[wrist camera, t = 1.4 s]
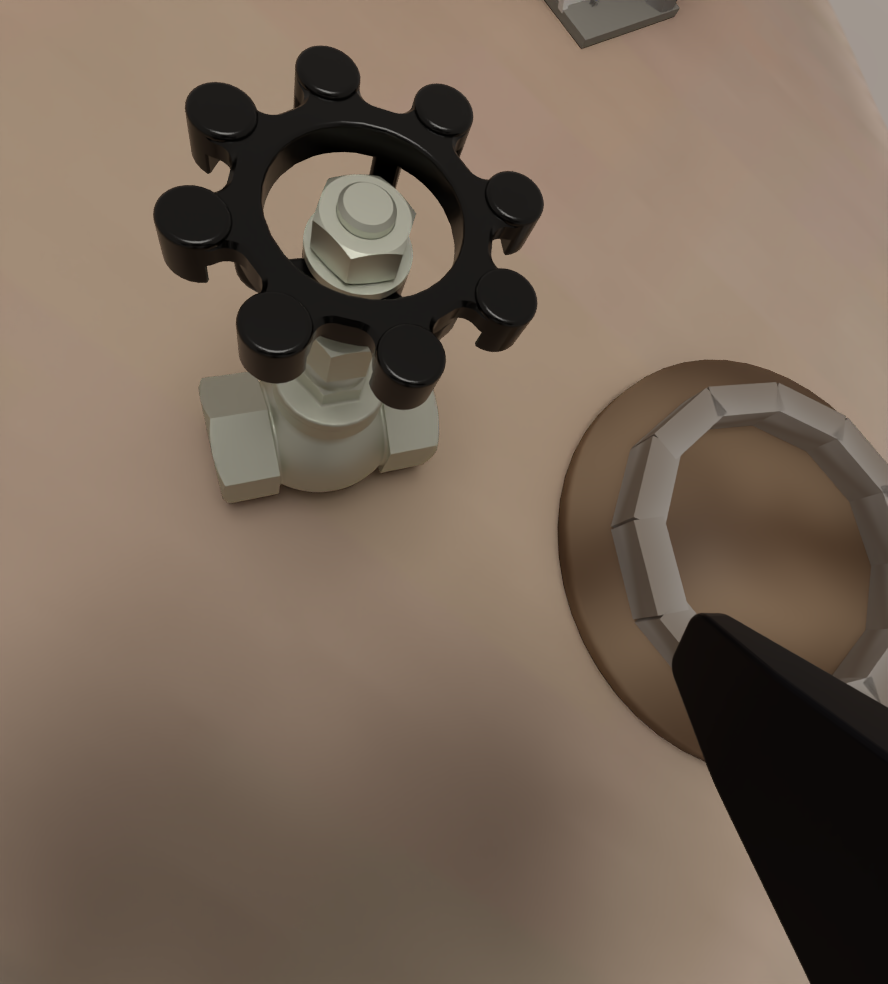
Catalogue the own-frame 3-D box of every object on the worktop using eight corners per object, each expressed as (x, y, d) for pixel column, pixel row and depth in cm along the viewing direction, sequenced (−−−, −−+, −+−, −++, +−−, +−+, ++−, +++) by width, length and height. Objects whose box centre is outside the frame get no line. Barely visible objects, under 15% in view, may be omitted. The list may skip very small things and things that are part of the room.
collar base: (958, 721, 25) (1028, 726, 23) (617, 825, 20) (661, 845, 18) (832, 362, 29) (882, 335, 27) (518, 380, 24) (544, 349, 22)
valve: (196, 373, 21) (114, 36, 10) (383, 348, 23) (491, 46, 12) (237, 562, 20) (197, 422, 9) (432, 517, 22) (602, 357, 11)
